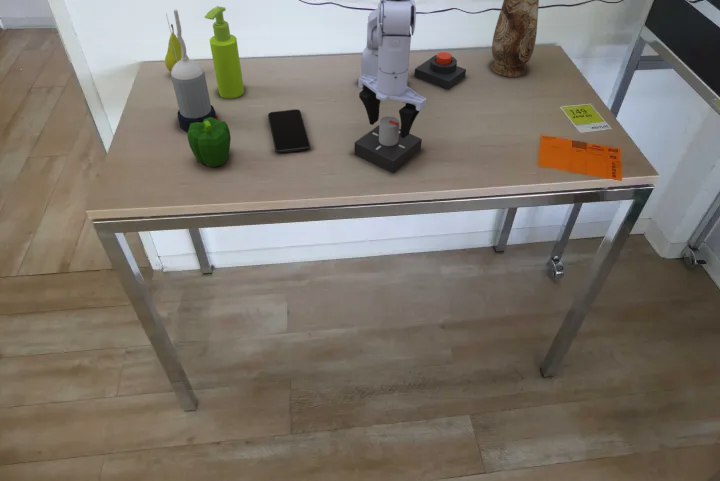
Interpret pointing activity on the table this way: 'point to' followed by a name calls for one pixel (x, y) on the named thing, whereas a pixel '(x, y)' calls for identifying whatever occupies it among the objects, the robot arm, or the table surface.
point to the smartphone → (288, 131)
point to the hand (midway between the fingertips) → (389, 128)
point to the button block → (440, 73)
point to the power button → (443, 58)
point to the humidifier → (190, 87)
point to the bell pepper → (210, 141)
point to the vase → (514, 36)
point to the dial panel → (387, 150)
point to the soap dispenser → (225, 56)
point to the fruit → (170, 56)
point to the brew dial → (389, 131)
